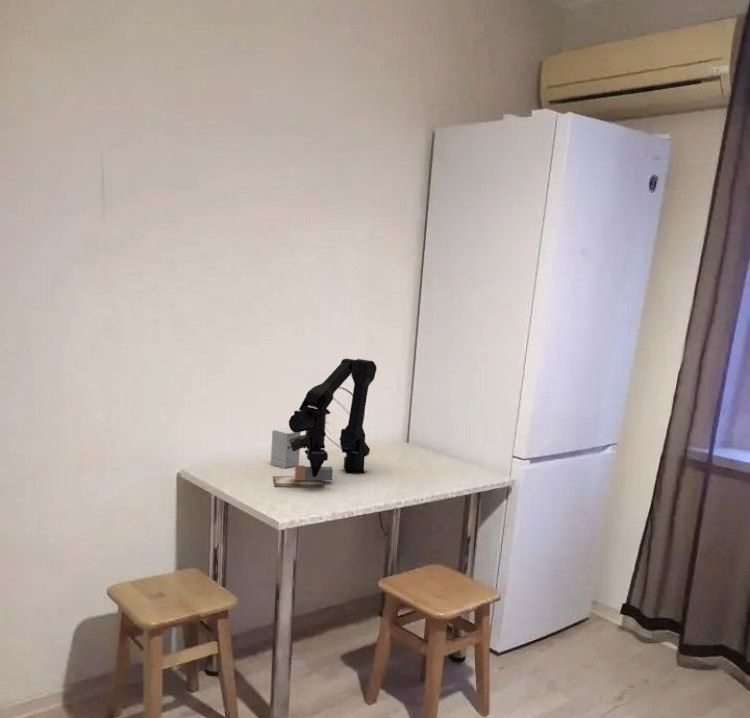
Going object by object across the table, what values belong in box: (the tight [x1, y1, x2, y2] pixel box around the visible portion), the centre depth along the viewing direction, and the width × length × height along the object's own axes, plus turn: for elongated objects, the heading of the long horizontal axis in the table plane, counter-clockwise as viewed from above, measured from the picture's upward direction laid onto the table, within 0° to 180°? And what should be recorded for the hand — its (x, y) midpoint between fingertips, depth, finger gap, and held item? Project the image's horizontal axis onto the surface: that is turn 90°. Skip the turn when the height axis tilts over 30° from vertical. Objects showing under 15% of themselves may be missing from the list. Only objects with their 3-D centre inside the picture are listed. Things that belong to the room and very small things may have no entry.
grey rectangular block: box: [294, 465, 334, 481], centre depth 235 cm, size 12×4×4 cm, turn 101°
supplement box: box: [270, 427, 302, 469], centre depth 254 cm, size 7×7×13 cm
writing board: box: [272, 475, 325, 488], centre depth 234 cm, size 16×11×1 cm
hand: (313, 474), depth 235 cm, fingers closed on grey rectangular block, 4 cm apart
